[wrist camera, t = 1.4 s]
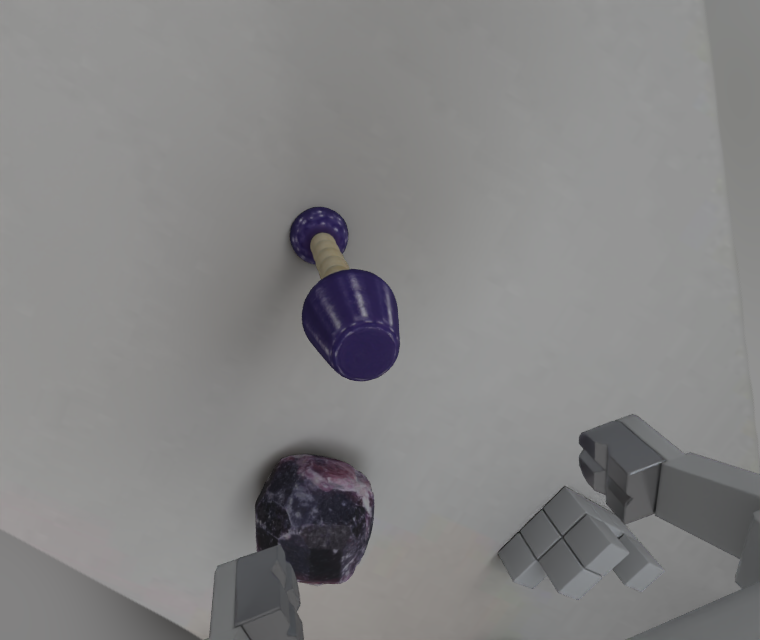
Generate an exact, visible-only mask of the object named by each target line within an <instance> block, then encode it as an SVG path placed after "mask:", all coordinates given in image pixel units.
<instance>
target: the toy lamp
mask: <svg viewBox="0 0 760 640" xmlns="http://www.w3.org/2000/svg"><path fill="white" fill-rule="evenodd" d="M290 241H291V245H292V247H293V249H294V251H295V253H296V254H297V255H298V256H299V257H300V258H301V259H303V260H304V261H306V262H308V263H311V264H315V265H316V267H317V269H318V271H319V275H320V278H321V280H320V281H319V282H318V283H317V284H316V285H315V286H314V287H313V288H312V289H311V290H310V292H309V294H308V295H307V297H306V299H305V302H304V305H303V310H302V324H303V328H304V331H305V333H306V336H307V337H308V339H309V341H310V342H311V343H312V345H313V346H314V347H315V348H316V349H317V351H318V352H319V353H320V354H321V355H322V357H323V358H324V359H325V360H326V361H327V363H328V364H329V365H330V366H331V367H332V368H333V369H334V370H335V371H336V372H337V373H338V374H340V375H341V376H342V377H345V378H347V379H349V380H354V381H368V380H372V379H375V378H377V377H380V376H381V375H383V374H384V373H386V372H387V371H388V370H389V369H390V368H391V367H392V366H393V364H394V362H395V361H396V359H397V356H398V353H399V347H400V336H399V319H398V308H397V303H396V299H395V296H394V294H393V292H392V290H391V289H390V287H389V286H388V285H387V284H386V282H385V281H383V280H382V279H381V278H380V277H378V276H377V275H375V274H373V273H371V272H368V271H363V270H357V269H349V266H348V264H347V262H346V261H345V260H344V257H343V255H342V254H343V252H344V250H345V249H346V246H347V242H348V229H347V226H346V223H345V221H344V219H343V218H342V217H341V216H340V215H339V214H338V213H336V212H335V211H333V210H331V209H329V208H325V207H313V208H310V209H308V210H306V211H304V212H303V213H301V214H300V215H299V216H298V217H297V218H296V219H295V221H294V222H293V224H292V226H291V231H290Z"/></svg>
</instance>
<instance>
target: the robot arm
mask: <svg viewBox="0 0 760 640" xmlns="http://www.w3.org/2000/svg"><path fill="white" fill-rule="evenodd" d="M579 444H580V445H581V446H582V448H583V450H582V452H581V453H580V455H579V466H580V468H581V471H582V474H583V476H584V477H585V479H586V481H587V482H588V484H589V485H590V486H591V487H592V488H593V489H594V490H595V491H597V492H599V493H602V494H604V495H606V504H607V505H608V507H609V508H610V509H611V510H612V511H613V512H614V513H615V514H616V516H617V517H618V518H619V519H620V520H621V521H622V522H623V523H624V525H625V524H628V523H630V522H633V521H636V520H639V519H641V518H644V517H647V516H650V515H652V514H655V516H657V517H659V518H661V519H663V520H665V521H667V522H669V523H671V524H673V525H675V526H677V527H678V528H680V529H682V530H684V531H686V532H688V533H690V534H692V535H694V536H696V537H698V538H700V539H702V540H704V541H706V542H708V543H710V544H712V545H714V546H715V547H717V548H719V549H721V550H723V551H725V552H727V553H729V554H731V555H733V556H735V557H737V558H739V559H740V561H739V565H738V568H737V572H736V575H735V582H736V583H737V584H738V585H739V586H740V587H741V588H742V589H741V590H738V591H736V592H734V593H731V594H729V595H727V596H724V597H722V598H720V599H718V600H715V601H713V602H711V603H708V604H706V605H704V606H702V607H699V608H697V609H695V610H692V611H690V612H688V613H685V614H683V615H681V616H679V617H676V618H674V619H672V620H669V621H667V622H665V623H663V624H660V625H658V626H656V627H653V628H651V629H649V630H646V631H644V632H642V633H640V634H637V635H635V636H633V637H630V638H628V639H626V640H760V474H758V473H755V472H752V471H748V470H745V469H742V468H739V467H736V466H732V465H729V464H726V463H723V462H720V461H717V460H713V459H710V458H707V457H704V456H701V455H697V454H694V453H691V452H690V453H687V454H685V453H683V452H682V451H681V450H680V449H678V448H677V447H676V446H675V445H673V444H672V443H671V442H670V441H668V440H667V439H666V438H665V437H663V436H662V435H661V434H660V433H659V432H657V431H656V430H655V429H654V428H652V427H651V426H650V425H649V424H647V423H646V422H645V421H644V420H642V419H641V418H640V417H639V416H637V415H634V414H631V415H628V416H626V417H623V418H620V419H617V420H615V421H611V422H608V423H606V424H603V425H600V426H598V427H595V428H593V429H590V430H587V431H585V432H582V433H581V434H580V436H579ZM300 604H301V603H300V594H299V588H298V583H297V579H296V576H295V573H294V570H293V568H292V566H291V564H290V563H287V562H286V559H285V552H284V550H283V548H282V546H281V544H280V545H276V546H273V547H270V548H267V549H264V550H262V551H259V552H256V553H253V554H250V555H247V556H244V557H241V558H238V559H235V560H232V561H230V562H227V563H224V564H221V565H218V566H217V569H216V571H215V575H214V587H213V599H212V611H211V622H210V634H209V638H207V639H205V640H304V636H303V624H302V621H301V619H300V617H299V615H298V613H297V610H298V608H299V606H300Z"/></svg>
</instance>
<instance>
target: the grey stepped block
mask: <svg viewBox="0 0 760 640" xmlns="http://www.w3.org/2000/svg"><path fill="white" fill-rule="evenodd" d="M543 509H544V511H543V510H541V511H540V512H539V513H538V514H537V515H536V516H535V517H534V518H533V519H532V520H531V521H530V522H529V523H528V524H527V525H526V526H525V527H524V528H523V529H522V530H521V531H520V532H521V533H518V534H517V535H516V536H515V537H514V538H513V539H512V540H511V541H509V542H508V543H507V544H506V545H505V546H504V547H503V548H502V549H501V550H500V551H499V552H498V555H499V557H500V558H501V560H502V562H503V564H504V566H505V568H506V569H507V571H508V573H509V575H510V577H511V579H512V581H513V582H515V583H518V584H521V585H523V586H526V587H529V588H532V589H533V588H534V587H536V586H537V585H538V584H539V583H540V582H541V581H542V580H543V579H544V578H545V577H546V576H548V577H549V579H550V580H551V582H552V584H553V585H554V587H555V589H556V590H557V592H558V593H560V594H563V595H566V596H568V597H571V598H574V599H576V600H579V599H580V598H581V597H582V596H583V595H584V594H586V593H587V592H588V591H589V590H590V589H591V588H592V587H593V586H594V585H595V584H597V583H598V582H599V581H600V580H601V579H602V576H601V575H603V576H605V575H606V574H607V573H609V572H610V571H611V570H612V569H613V571H614V572H615V573H616V575H617V576H618V577H619V579H620V580H621V581H622V582H623V584H624V585H626V586H628V587H630V588H633V589H635V590H637V591H640V592H642V591H643V590H644V589H645V588H647V587H648V586H649V585H650V584H651V583H652V582H653V581H655V580H656V579H657V578H658V577H659V576H660V575H661V574H662V573H664V572H665V570H664V568H663V567H662V566H661V565H660V564H659V563H658V562H657V560H656V559H655V558H654V557H653V556H652V555H651V554H650V552H649V551H648V550H647V549H646V548H645V547H644V546H643V545H642V543H641V542H639V541H638V539H637V538H636V537H635V535H634V534H633V533H632V532H631V531H630V530H629V529H628V527H627V526H626V525H624V523H623V522H622V521H621V520H620V519H619V518H618V517H617V516H616V515H615V514H613V513H612V512H610V511H608V510H606V509H604V508H603V507H601V506H599V505H597V504H596V503H594V502H592V501H590V500H588V499H587V498H585V497H583V496H581V495H580V494H578V493H576V492H574V491H572V490H571V489H569V488H567V487H564V488H563V489H562V490H561V491H560V492H559V493H558V494H557V495H556V496H555V497H554V498H553V499H552V500H551V501H550V502H549V503H548V504H547V505H546V506H545V507H544V508H543Z"/></svg>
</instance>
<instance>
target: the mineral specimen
mask: <svg viewBox="0 0 760 640" xmlns="http://www.w3.org/2000/svg"><path fill="white" fill-rule="evenodd" d="M255 514H256V543H257V552H259V551H262V550H264V549H267V548H270V547H273V546H276V545H280V544H281V546H282V548H283V550H284V552H285V559H286V562H287V563H290V564H291V566H292V568H293V570H294V573H295V576H296V579H297V582H302V583H305V584H310V585H315V586H320V585H323V584H341V583H343V582H346V581H347V580H348V579H349V578H350V577H351V576H352V575H353V573H354V570H355V567H356V565H358V564H359V563H360V561H361V558H362V556H363V555H364V553H365V550H366V547H367V544H368V541H369V538H370V535H371V531H372V526H373V520H374V518H373V516H374V494H373V492H372V489H371V484H370V482H369V481H368V479H367V477H365V476H364V475H363V474H362V473H361V472H359V471H357V470H355V469H354V468H353V467H352V466H351V465H349V464H347V463H345V462H342V461H340V460H337V459H332V458H328V457H323V456H317V455H308V454H302V455H295V456H294V455H291V456H288V457H285V458H282V459H281V460H280V461H279V463H278V464H277V465H276V466H275V468H274V469H273V471H272V473H271V475H270V476H269V478H268V479H267V481H266V482H265V484H264V486H263V489H262V491H261V493H260V495H259V496H258V499H257V501H256V505H255Z"/></svg>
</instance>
